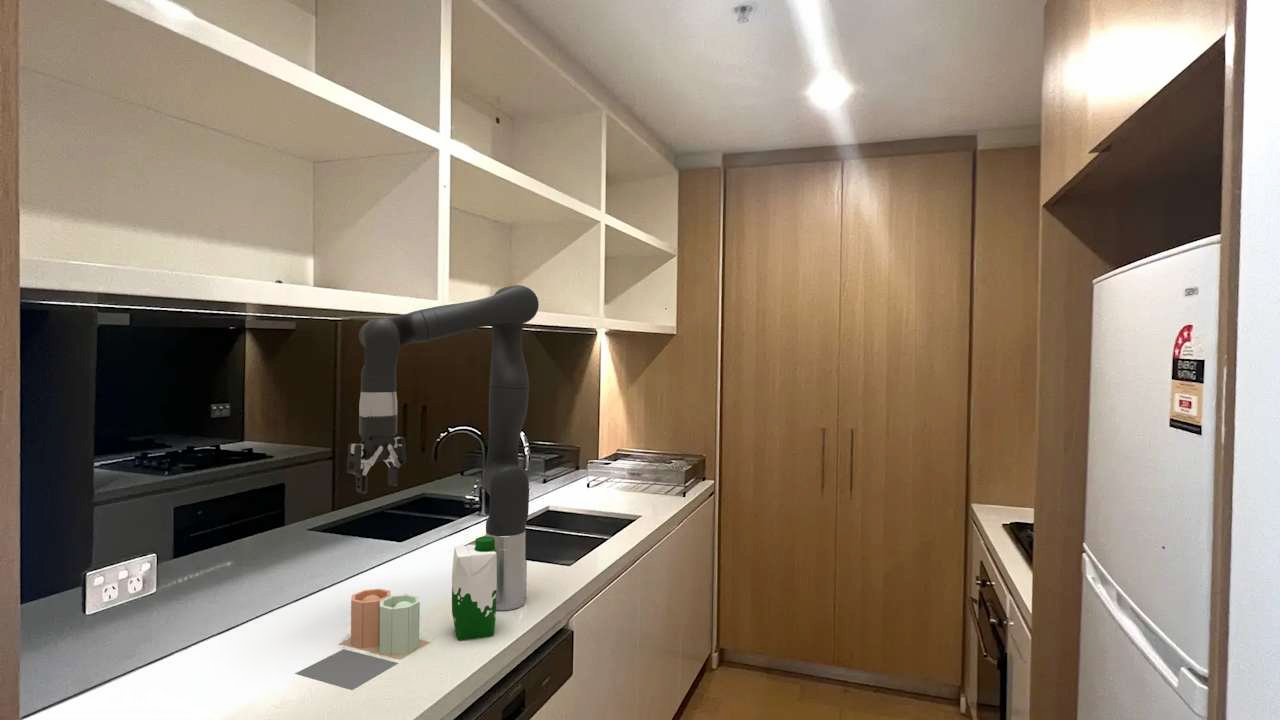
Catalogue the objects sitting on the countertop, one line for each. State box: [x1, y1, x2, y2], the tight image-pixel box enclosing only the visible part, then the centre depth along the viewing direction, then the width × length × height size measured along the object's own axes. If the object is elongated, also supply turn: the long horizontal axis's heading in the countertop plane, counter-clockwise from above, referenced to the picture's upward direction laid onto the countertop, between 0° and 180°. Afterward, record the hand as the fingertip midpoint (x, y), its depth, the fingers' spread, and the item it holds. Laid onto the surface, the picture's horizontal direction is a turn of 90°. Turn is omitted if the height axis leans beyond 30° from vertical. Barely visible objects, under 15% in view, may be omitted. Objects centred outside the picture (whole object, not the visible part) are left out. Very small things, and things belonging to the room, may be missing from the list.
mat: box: [294, 648, 399, 691], centre depth 123 cm, size 11×14×1 cm
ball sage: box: [394, 601, 412, 608], centre depth 133 cm, size 4×4×4 cm
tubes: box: [338, 588, 431, 661], centre depth 133 cm, size 8×16×10 cm, turn 67°
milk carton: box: [451, 535, 497, 642], centre depth 139 cm, size 9×9×20 cm
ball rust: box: [362, 595, 381, 602], centre depth 136 cm, size 4×4×4 cm
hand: (377, 489), depth 141 cm, fingers open, 8 cm apart
